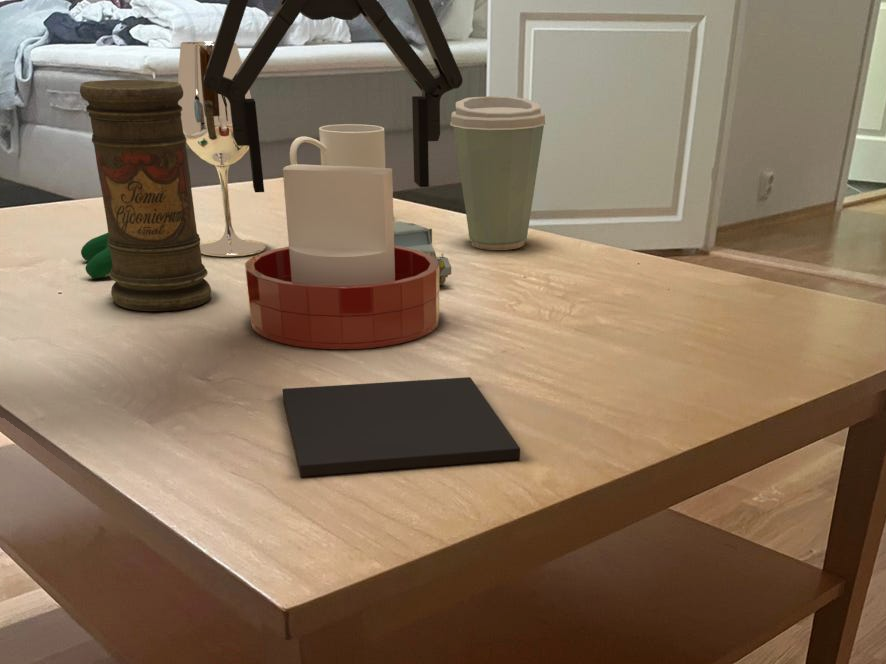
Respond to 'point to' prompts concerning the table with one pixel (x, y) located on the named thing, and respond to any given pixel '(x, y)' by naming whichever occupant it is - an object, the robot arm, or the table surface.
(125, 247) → the container
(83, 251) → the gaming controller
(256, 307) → the red round dish
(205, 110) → the wineglass
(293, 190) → the base with upright slab
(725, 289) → the table surface
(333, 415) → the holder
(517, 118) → the disposable coffee cup
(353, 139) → the mug
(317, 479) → the table surface
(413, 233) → the toy car
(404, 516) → the table surface
